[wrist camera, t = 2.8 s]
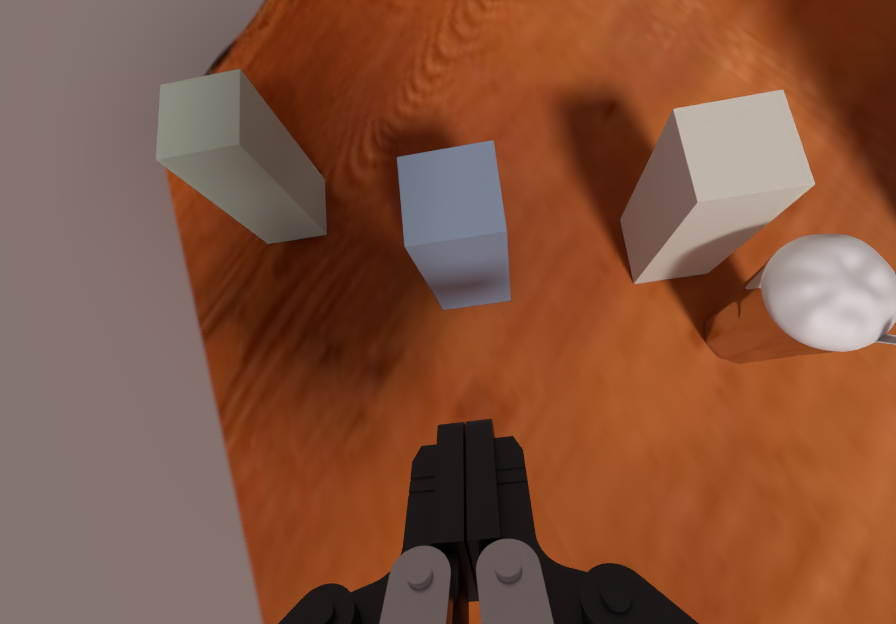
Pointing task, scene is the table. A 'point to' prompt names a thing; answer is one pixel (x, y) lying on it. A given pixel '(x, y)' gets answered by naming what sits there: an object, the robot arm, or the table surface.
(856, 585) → the table surface
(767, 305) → the milkshake
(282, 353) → the table surface
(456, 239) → the slate blue block
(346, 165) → the table surface
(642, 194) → the cream block
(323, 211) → the sage block
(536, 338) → the table surface
